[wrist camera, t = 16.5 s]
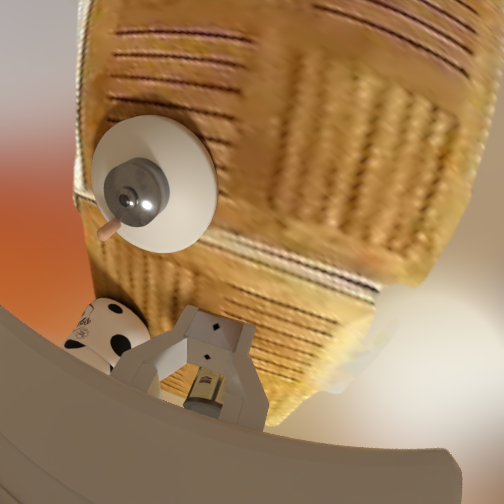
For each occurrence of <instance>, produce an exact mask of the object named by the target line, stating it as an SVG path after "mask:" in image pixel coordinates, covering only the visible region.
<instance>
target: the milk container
mask: <svg viewBox="0 0 504 504" xmlns="http://www.w3.org/2000/svg"><path fill="white" fill-rule="evenodd" d="M148 340H150V333H149V331H148V328H147V326H146V325H145V323H144V322H143V321H142V319H141V318H140V317H139V316H138V315H137V314H136V313H135V312H134V311H133V310H132V309H131V308H129V307H127V306H126V305H124V304H123V303H121V302H119V301H116V300H114V299H111V298H99V299H96V300H95V301H93V302H92V303H91V304H89V305H88V306H87V308H86V309H85V310H84V312H83V314H82V316H81V319H80V321H79V323H78V325H77V327H76V328H75V329H74V330H73V332H72V333H71V334H70V335H69V336H68V338H67V339H66V341H65V342H64V343H63V344H62V346H61V347H60V348H62V349H63V350H65V351H66V352H68V353H70V354H71V355H73V356H75V357H76V358H78V359H80V360H82V361H83V362H85V363H87V364H89V365H91V366H92V367H94V368H96V369H98V370H100V371H102V372H104V373H105V374H107V375H110V373H111V372H112V370H113V368H114V367H115V365H116V364H117V362H118V360H119V359H120V357H121V356H122V354H123V353H124V352H125V351H128V350H130V349H132V348H134V347H136V346H138V345H140V344H142V343H144V342H146V341H148Z"/></svg>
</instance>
